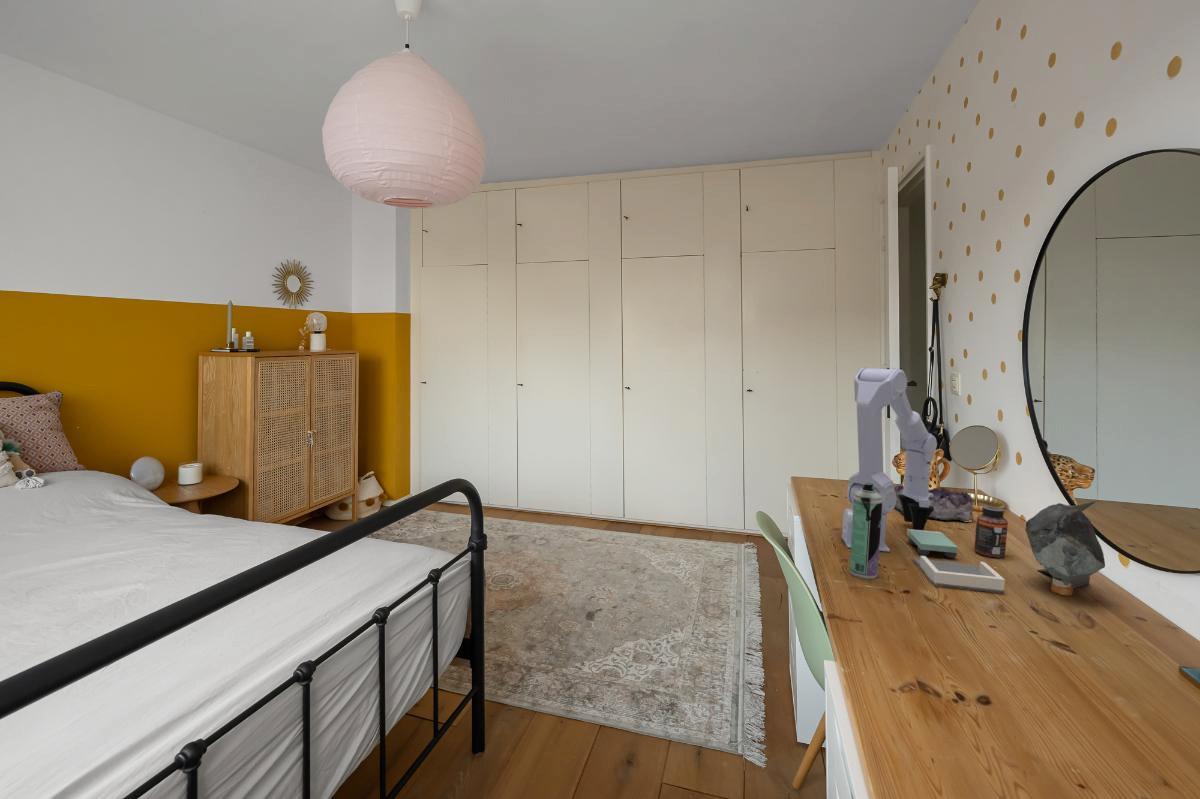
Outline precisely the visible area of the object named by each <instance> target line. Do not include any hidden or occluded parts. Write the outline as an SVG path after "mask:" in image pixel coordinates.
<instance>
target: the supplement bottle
mask: <svg viewBox="0 0 1200 799" xmlns="http://www.w3.org/2000/svg"><path fill="white" fill-rule="evenodd" d="M1004 511H1005V510H1004V509H1003V508H1001V507H997V506H991V505H984V506H983V507H982V511H981V512H982V513H980V514H978V516H977V517H976V524H975V525H976V526H975V536H974V537H975V538H974V547H973V548H974V551H975V552H976V553H978V554H979V555H980V556H984V557H987V556H988V558H992V557H995V558H994V559H1001V558H1004V557H1005V555H1006V554H1005V553H1006V545H1007V536H1008V524H1009V522H1008V520H1007V518H1005V516H1004Z"/></svg>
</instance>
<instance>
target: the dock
mask: <svg viewBox="0 0 1200 799" xmlns="http://www.w3.org/2000/svg"><path fill="white" fill-rule="evenodd" d="M911 560H912V562H914V564H915V565H916V566H917V568H918V569H919V570H920V571H921V573H922V574H923V575H924V576H925V577H926V579H928V581H929V582H930V583H931V584H933V585H934V586H933V585H932V586H933V587H937V586H940V588H945V587H949V588H948V589H954V588H961V589H960V590H963V589H970V590H969V591H972V590H979V591H978V592H981V591H985V592H984V593H992V594H999V595H1004V593H1005V582H1006V579H1005V578H1004V577H1003V576H1001V575H1000V574H999V573H998V572H997V571H996V570H994V569H993V568H992V567H991V566H990V565H988V564H987V563H986V562H985V561H979V562H978V565H976V564H972V563H959V562H952V561H951V562H950V561H942V562H941V560H940V561H939V560H931V559H929V558H928V557H927V555H926V556H922V555H920V558H911ZM941 586H942V587H941Z"/></svg>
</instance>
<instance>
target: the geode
mask: <svg viewBox="0 0 1200 799" xmlns="http://www.w3.org/2000/svg"><path fill="white" fill-rule="evenodd" d="M903 486H904V485H895V487H894V491H895V493H896V498H897V499H896V504H895V507H894V509H895V508H896V509H897V510H898V511H900V512H901V513H902V514H903V510H902V505H901V502H900V500H899V498H898V495H903V494H902V493H903ZM928 493H932V494H933V497H929V499H928V500H929V506H932V507H933V508H934V511H933V512H932V513H931V514H930V516H929V517H928V519H935V520H937V519H940V520H939V521H941V520H946V521H959V520H960V521H961V522H963V521H969V520H973V521H974V514H973V512H974V510H975V508H974V506H973V503H974V502H973V498H972V496H971V495H969V492H964V491H961V492H958V491H956V490H952V491H950V490H949V489H946V488H944V487H941V488H940V490H939V489H938V487H936V488H935V487H934V488H932V489H929V492H928ZM960 521H959V522H960Z"/></svg>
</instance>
